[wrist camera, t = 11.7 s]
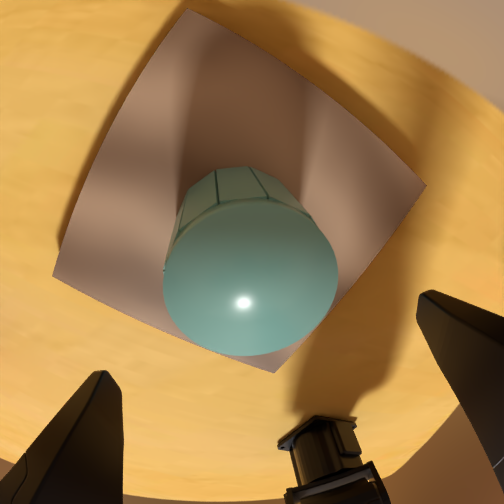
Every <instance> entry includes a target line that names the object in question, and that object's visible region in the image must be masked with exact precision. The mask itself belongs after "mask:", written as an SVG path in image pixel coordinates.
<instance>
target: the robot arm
mask: <svg viewBox="0 0 504 504" xmlns="http://www.w3.org/2000/svg"><path fill="white" fill-rule="evenodd" d="M416 319H417V323H418V325H419V327H420V329H421V331H422V333H423V335H424V337H425V339H426V341H427V343H428V345H429V347H430V350H431V352H432V354H433V356H434V358H435V360H436V362H437V364H438V366H439V367H440V369H441V371H442V373H443V374H444V376H445V378H446V379H447V381H448V383H449V384H450V386H451V388H452V390H453V391H454V393H455V395H456V397H457V399H458V400H459V402H460V404H461V406H462V407H463V409H464V411H465V413H466V415H467V417H468V419H469V421H470V422H471V424H472V426H473V428H474V430H475V432H476V434H477V436H478V438H479V440H480V442H481V444H482V446H483V448H484V450H485V452H486V454H487V456H488V458H489V461H490V463H491V465H492V467H493V470H494V472H495V474H496V476H497V479H498V481H499V483H500V486H501V488H502V490H503V493H504V317H502V316H500V315H497V314H495V313H492V312H490V311H487V310H485V309H482V308H480V307H477V306H474V305H472V304H469V303H467V302H464V301H462V300H459V299H457V298H454V297H451V296H449V295H446V294H444V293H441V292H438V291H436V290H428V291H425V292H422V293H421V294H420V295H419V299H418V306H417V313H416ZM356 427H357V425H356V423H355V422H349V421H343V420H337V419H331V418H326V417H321V416H315V417H313V418H311V419H310V420H309V421H308V422H306V423H305V424H304V425H303V426H301V427H300V428H299V429H298V430H296V431H295V432H294V433H292V434H291V435H290V436H288V437H287V438H286V439H285V440H283V441H282V442H280V443H279V444H278V445H277V447H278V449H279V450H285V451H290V455H291V460H292V464H293V468H294V472H295V476H296V480H297V484H298V487H294V488H292V487H291V488H287V489H286V491H287V493H285V494H284V499H285V503H286V504H391V502H390V499H389V496H388V493H387V491H386V489H385V487H384V484H383V482H382V480H381V478H380V476H379V474H378V472H377V470H376V468H375V466H374V464H373V461H369V462H367V463H366V464H364V465H363V463H362V460H361V458H360V455H361V453H362V451H361V448H360V446H359V443H358V441H357V438H356V436H355V433H354V431H353V430H354V429H355V428H356ZM123 449H124V432H123V412H122V392H121V389H120V387H119V386H118V385H117V383H116V382H115V380H114V379H113V378H112V376H111V375H110V373H109V372H108V371H106V370H100V371H94V372H93V373H92V374H91V375H90V376H89V377H88V378H87V379H86V380H85V382H84V383H83V384H82V385H81V386H80V387H79V388H78V390H77V391H76V392H75V393H74V394H73V395H72V397H71V398H70V399H69V400H68V401H67V402H66V404H65V405H64V406H63V407H62V408H61V409H60V411H59V412H58V413H57V414H56V415H55V417H54V418H53V419H52V420H51V421H50V422H49V424H48V425H47V426H46V427H45V428H44V430H43V431H42V432H41V433H40V434H39V436H38V437H37V438H36V439H35V441H34V442H33V443H32V444H31V445H30V447H29V448H28V449H27V450H26V453H24V454H23V455H22V456H21V458H20V459H19V460H18V461H17V463H16V464H15V465H14V466H13V467H12V469H11V470H10V471H9V472H8V473H7V474H6V475H5V477H4V478H3V479H2V480H1V481H0V504H123ZM367 480H369V482H368V481H367Z"/></svg>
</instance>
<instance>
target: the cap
mask: <svg viewBox="0 0 504 504" xmlns="http://www.w3.org/2000/svg"><path fill="white" fill-rule="evenodd" d="M216 172H217V173H216ZM216 172H215V171H212V172H211V173H210V174H208V175H207V176H205V177H204V178H203V179H201V180H200V181H199V182H197V183H196V184H195V185H193V186H192V187H190V188H189V190H187V193H186V195H185V198H184V200H183V202H182V205H181V207H180V210H179V212H178V215H177V217H176V220H175V224H174V228H173V232H172V235H171V239H170V243H169V247H168V251H167V255H166V259H165V263H164V267H163V275H164V278H163V295H164V301H165V305H166V307H167V310H168V313H169V315H170V316H171V318H172V320H173V322H174V323H175V324H176V326H177V327H178V328H179V329H180V330H181V331H182V332H183V333H184V334H185V335H186V336H187V337H188V338H189V339H191V340H192V341H194V342H195V343H197V344H198V345H200V346H202V347H204V348H207V349H209V350H212V351H215V352H218V353H222V354H226V355H234V356H254V355H262V354H267V353H271V352H274V351H277V350H280V349H283V348H285V347H287V346H289V345H291V344H293V343H295V342H297V341H298V340H300V339H301V338H303V337H304V336H306V335H307V334H308V333H309V332H311V331H312V330H313V329H314V328H315V327H316V326H317V325H318V324H319V323H320V321H321V320H322V319H323V318H324V316H325V315H326V313H327V312H328V310H329V308H330V306H331V304H332V302H333V300H334V297H335V294H336V290H337V284H338V265H337V260H336V257H335V253H334V251H333V249H332V247H331V245H330V242H329V241H328V240H327V238H326V237H325V235H324V234H323V233H322V232H321V230H320V229H319V228H318V226H317V225H316V223H315V221H314V220H313V218H312V216H311V215H310V214H309V213H308V212H307V211H306V210H305V208H304V207H303V206H302V205H301V204H300V203H299V202H298V201H297V199H296V198H295V197H294V196H293V195H292V194H291V193H290V192H289V191H288V189H287V188H286V187H285V186H284V185H283V184H282V183H281V182H280V181H279V180H278V179H276V178H274V177H272V176H270V175H268V174H266V173H263V172H261V171H259V170H257V169H255V168H252V167H248V166H243V167H233V168H224V169H216Z"/></svg>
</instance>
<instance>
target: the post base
mask: <svg viewBox="0 0 504 504" xmlns="http://www.w3.org/2000/svg"><path fill="white" fill-rule="evenodd" d="M243 166H248V167H252V168H255V169H257V170H259V171H261V172H263V173H266V174H268V175H270V176H272V177H274V178H276V179H278V180H279V181H280V182H281V183H282V184H283V185H284V186H285V187H286V188H287V189H288V191H289V192H290V193H291V194H292V195H293V196H294V197H295V198H296V199H297V201H298V202H299V203H300V204H301V205H302V206H303V207H304V208H305V210H306V211H307V212H308V213H309V214H310V215H311V216H312V218H313V220H314V221H315V223H316V225H317V226H318V228H319V229H320V230H321V232H322V233H323V234H324V235H325V237H326V238H327V240H328V241H329V242H330V245H331V247H332V249H333V251H334V253H335V257H336V260H337V265H338V284H337V290H336V294H335V297H334V300H333V302H332V304H331V306H330V308H329V310H328V312H327V313H326V315H325V316H324V318H323V319H322V320H321V321H320V323H321V322H322V321H323V320H324V319H325V318H326V316H327V315H328V314H329V313H330V312H331V311H332V310H333V308H334V307H335V306H336V305H337V304H338V303H339V301H340V300H341V299H342V298H343V297H344V295H345V294H346V293H347V292H348V291H349V289H350V288H351V287H352V286H353V284H354V283H355V282H356V281H357V280H358V278H359V277H360V276H361V275H362V273H363V272H364V271H365V270H366V268H367V267H368V266H369V265H370V263H371V262H372V261H373V259H374V258H375V257H376V256H377V254H378V253H379V252H380V250H381V249H382V248H383V246H384V245H385V244H386V242H387V241H388V240H389V238H390V237H391V236H392V234H393V233H394V232H395V230H396V229H397V228H398V226H399V225H400V223H401V222H402V221H403V219H404V218H405V216H406V215H407V214H408V212H409V211H410V209H411V208H412V207H413V205H414V204H415V202H416V201H417V199H418V198H419V196H420V195H421V194H422V192H423V191H424V189H425V188H426V186H427V185H426V184H425V183H424V182H423V181H422V180H421V179H420V178H419V177H418V176H417V175H416V174H415V173H414V172H413V171H412V170H411V169H410V168H409V167H408V166H407V165H406V164H405V163H404V162H403V161H402V160H401V159H400V158H399V157H398V156H397V155H396V154H395V153H394V152H393V151H392V150H391V149H390V148H389V147H388V146H387V145H386V144H385V143H384V142H383V141H381V140H380V139H379V138H378V137H377V136H376V135H375V134H374V133H373V132H372V131H370V130H369V129H368V128H367V127H366V126H365V125H364V124H362V123H361V122H360V121H359V120H358V119H357V118H355V117H354V116H353V115H352V114H351V113H349V112H348V111H347V110H346V109H345V108H343V107H342V106H341V105H340V104H338V103H337V102H336V101H335V100H333V99H332V98H331V97H330V96H328V95H327V94H326V93H324V92H323V91H322V90H321V89H319V88H318V87H317V86H315V85H314V84H312V83H311V82H310V81H308V80H307V79H306V78H304V77H303V76H301V75H300V74H299V73H297V72H296V71H294V70H293V69H291V68H290V67H289V66H287V65H286V64H284V63H283V62H281V61H280V60H278V59H277V58H275V57H274V56H272V55H270V54H269V53H267V52H266V51H264V50H263V49H261V48H259V47H258V46H256V45H255V44H253V43H251V42H250V41H248V40H246V39H244V38H243V37H241V36H239V35H238V34H236V33H234V32H232V31H231V30H229V29H227V28H225V27H223V26H221V25H220V24H218V23H216V22H214V21H212V20H210V19H208V18H206V17H204V16H202V15H200V14H198V13H196V12H194V11H192V10H190V9H188V8H187V9H186V10H185V12H184V13H183V14H182V15H181V17H180V18H179V19H178V21H177V22H176V23H175V25H174V26H173V27H172V29H171V30H170V31H169V33H168V34H167V36H166V37H165V38H164V40H163V41H162V43H161V44H160V45H159V47H158V48H157V50H156V51H155V53H154V54H153V56H152V57H151V59H150V60H149V62H148V63H147V65H146V66H145V68H144V70H143V71H142V73H141V74H140V76H139V78H138V79H137V81H136V83H135V84H134V86H133V88H132V89H131V91H130V93H129V94H128V96H127V98H126V100H125V101H124V103H123V105H122V107H121V108H120V110H119V112H118V114H117V116H116V118H115V120H114V121H113V123H112V125H111V127H110V129H109V131H108V133H107V135H106V137H105V139H104V141H103V143H102V145H101V147H100V149H99V152H98V154H97V156H96V158H95V160H94V162H93V165H92V167H91V169H90V171H89V174H88V176H87V178H86V181H85V183H84V185H83V188H82V190H81V193H80V195H79V198H78V200H77V203H76V205H75V208H74V211H73V213H72V216H71V219H70V222H69V224H68V227H67V230H66V233H65V236H64V239H63V242H62V245H61V248H60V252H59V255H58V258H57V261H56V265H55V268H54V272H53V275H52V276H53V277H55V278H56V279H58V280H60V281H62V282H64V283H65V284H67V285H69V286H71V287H73V288H75V289H77V290H78V291H80V292H82V293H84V294H86V295H88V296H90V297H92V298H94V299H96V300H98V301H100V302H102V303H104V304H106V305H108V306H110V307H112V308H114V309H116V310H118V311H120V312H122V313H124V314H126V315H128V316H130V317H133V318H135V319H137V320H139V321H141V322H143V323H146V324H148V325H150V326H152V327H154V328H157V329H159V330H161V331H164V332H166V333H168V334H171V335H173V336H175V337H178V338H180V339H182V340H185V341H187V342H190V343H192V344H195V345H197V346H200V345H198V344H197V343H195V342H194V341H192V340H191V339H189V338H188V337H187V336H186V335H185V334H184V333H183V332H182V331H181V330H180V329H179V328H178V327H177V326H176V324H175V323H174V322H173V320H172V318H171V316H170V315H169V313H168V310H167V307H166V305H165V301H164V295H163V278H164V275H163V267H164V263H165V259H166V255H167V251H168V247H169V243H170V239H171V235H172V232H173V228H174V224H175V220H176V217H177V215H178V212H179V210H180V207H181V205H182V202H183V200H184V198H185V195H186V193H187V190H189V188H190V187H192V186H193V185H195V184H196V183H197V182H199V181H200V180H201V179H203V178H204V177H205V176H207V175H208V174H210V173H211V172H212V171H215V172H216V169H224V168H233V167H243ZM216 173H217V172H216ZM320 323H319V324H320ZM319 324H318V325H317V326H316V327H315V328H314V329H313V330H312V331H311V332H309V333H308V334H307V335H306V336H304V337H303V338H301V339H300V340H298V341H297V342H295V343H293V344H291V345H289V346H287V347H285V348H283V349H280V350H277V351H274V352H271V353H267V354H262V355H254V356H234V355H226V354H222V353H218V352H215V351H212V350H210V351H212V352H215V353H218V354H220V355H223V356H226V357H228V358H231V359H234V360H237V361H239V362H242V363H245V364H248V365H251V366H254V367H256V368H259V369H262V370H265V371H268V372H271V373H275V372H276V371H277V370H278V369H279V368H280V367H281V366H282V365H283V364H284V363H285V362H286V361H287V359H288V358H289V357H290V356H291V355H292V354H293V353H294V352H295V351H296V350H297V349H298V348H299V347H300V346H301V344H302V343H303V342H304V341H305V340H306V339H307V338H308V337H309V336H310V335H311V333H312V332H313V331H314V330H315V329H316V328H317V327H318V326H319ZM200 347H202V346H200ZM202 348H204V347H202ZM205 349H207V348H205ZM207 350H209V349H207Z"/></svg>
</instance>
